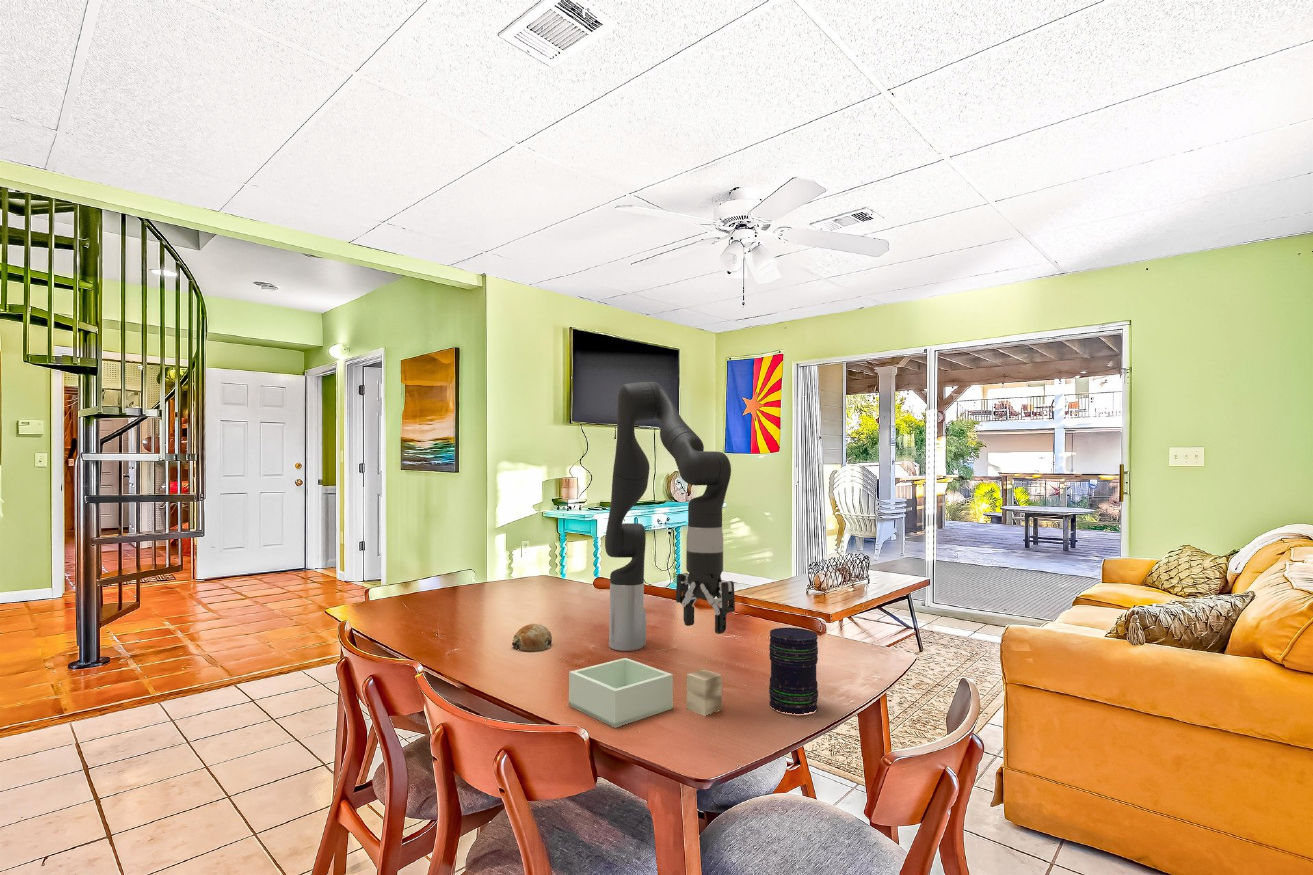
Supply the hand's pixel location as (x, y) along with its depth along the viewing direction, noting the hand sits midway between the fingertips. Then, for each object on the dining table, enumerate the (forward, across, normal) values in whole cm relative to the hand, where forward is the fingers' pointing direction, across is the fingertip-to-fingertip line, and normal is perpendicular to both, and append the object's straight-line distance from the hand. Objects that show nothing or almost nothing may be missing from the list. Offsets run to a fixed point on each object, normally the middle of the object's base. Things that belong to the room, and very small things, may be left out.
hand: (704, 628), depth 132 cm
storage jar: (+16, -11, -15) cm, 25 cm away
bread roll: (+16, +61, +2) cm, 63 cm away
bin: (+16, +12, +12) cm, 23 cm away
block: (+16, 0, 0) cm, 16 cm away
